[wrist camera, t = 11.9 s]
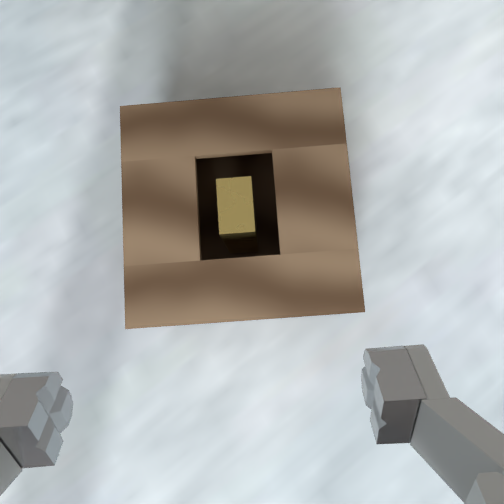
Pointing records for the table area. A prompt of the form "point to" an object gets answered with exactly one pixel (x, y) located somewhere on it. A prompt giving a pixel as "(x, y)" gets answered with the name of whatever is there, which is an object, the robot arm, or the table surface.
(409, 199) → the table surface
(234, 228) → the gold rectangular block
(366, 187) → the table surface
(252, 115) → the box
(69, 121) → the table surface
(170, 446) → the table surface
